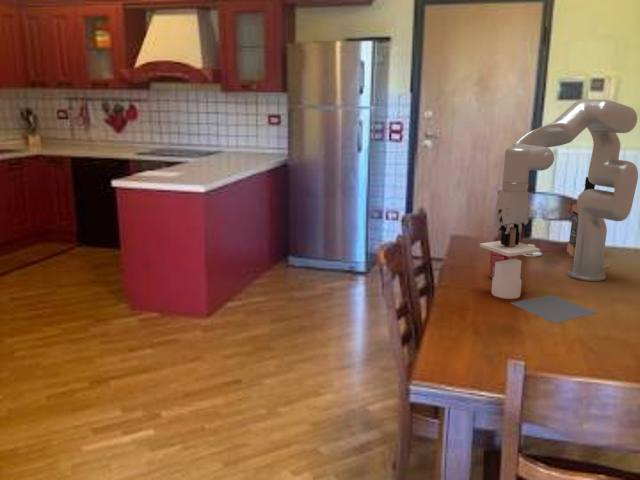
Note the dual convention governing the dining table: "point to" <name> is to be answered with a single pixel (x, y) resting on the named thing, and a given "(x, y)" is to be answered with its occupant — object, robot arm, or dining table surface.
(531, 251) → the lid
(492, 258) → the soda can
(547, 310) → the mat
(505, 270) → the cylinder with rectangular tab
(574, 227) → the whiskey bottle
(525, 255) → the teacup and saucer
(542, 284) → the dining table surface
